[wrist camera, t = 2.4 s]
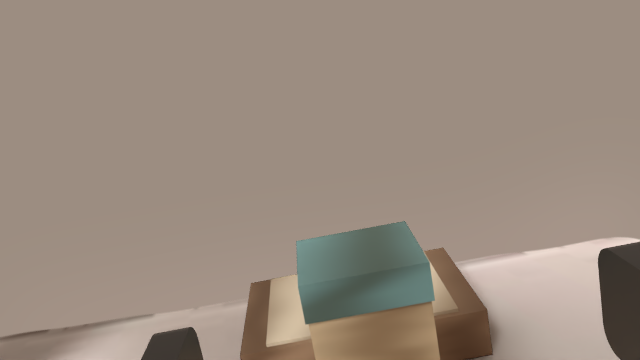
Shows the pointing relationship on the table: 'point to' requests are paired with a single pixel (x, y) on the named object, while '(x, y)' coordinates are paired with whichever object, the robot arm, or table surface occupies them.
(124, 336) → the table surface
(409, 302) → the teal topped tan block
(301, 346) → the dock
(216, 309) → the table surface
